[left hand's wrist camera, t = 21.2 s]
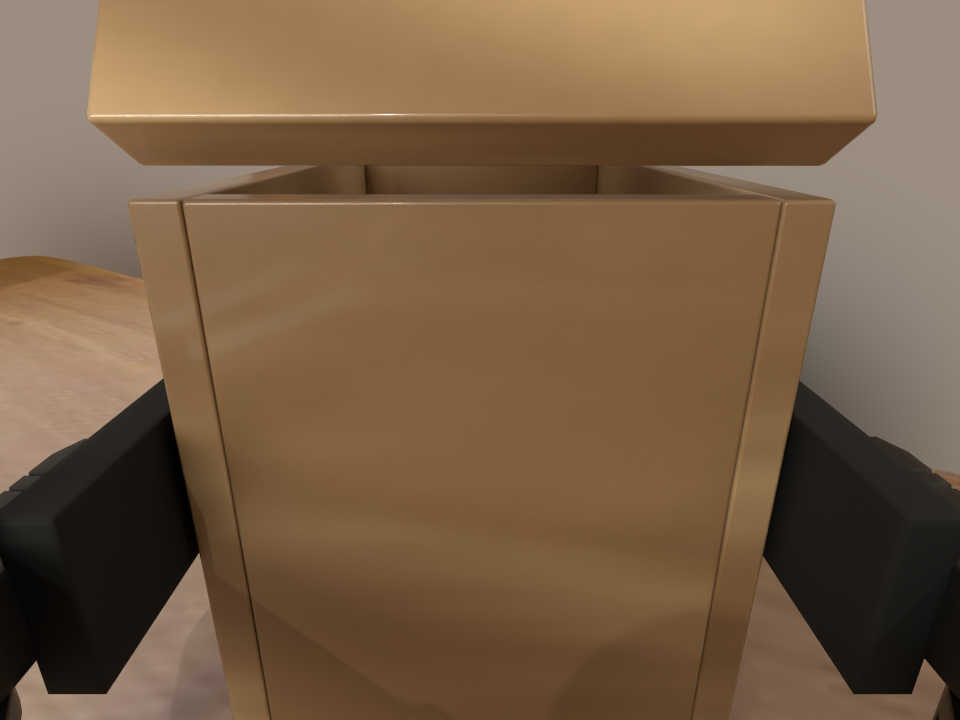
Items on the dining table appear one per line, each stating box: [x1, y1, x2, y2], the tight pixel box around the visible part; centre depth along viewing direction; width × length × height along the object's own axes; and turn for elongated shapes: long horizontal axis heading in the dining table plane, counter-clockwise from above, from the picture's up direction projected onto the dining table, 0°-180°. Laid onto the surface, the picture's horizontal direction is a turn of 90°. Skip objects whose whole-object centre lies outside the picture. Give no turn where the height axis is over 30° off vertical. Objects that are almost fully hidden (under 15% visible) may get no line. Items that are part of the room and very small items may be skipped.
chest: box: [128, 165, 836, 720], centre depth 16 cm, size 14×9×11 cm, turn 0°
